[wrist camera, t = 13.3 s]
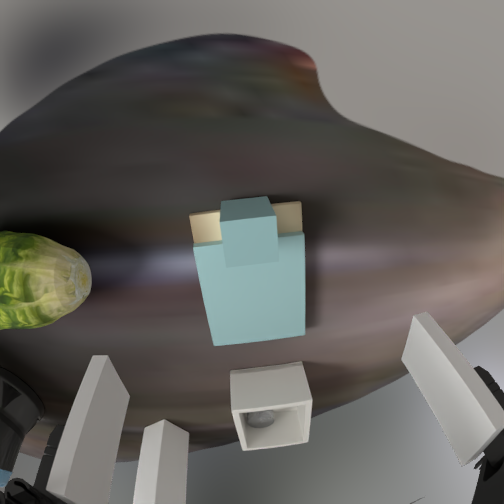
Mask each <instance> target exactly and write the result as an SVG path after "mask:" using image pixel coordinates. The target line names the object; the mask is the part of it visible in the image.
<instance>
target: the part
mask: <svg viewBox="0 0 504 504" xmlns="http://www.w3.org/2000/svg"><path fill="white" fill-rule="evenodd" d="M247 421H248V425H249V426H251V427H254V428H264V427H268V426H270V425H272V424H273V423H274V414H273V409H272V410H264V411H255V412H247Z"/></svg>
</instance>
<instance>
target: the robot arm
mask: <svg viewBox="0 0 504 504" xmlns="http://www.w3.org/2000/svg"><path fill="white" fill-rule="evenodd" d="M401 360H402V361H403V363H404V365H405V366H406V368H407V370H408V371H409V373H410V374H411V376H412V378H413V379H414V381H415V383H416V384H417V386H418V388H419V389H420V391H421V392H422V395H423V396H424V398H425V400H426V401H427V403H428V405H429V407H430V408H431V410H432V412H433V414H434V415H435V417H436V419H437V421H438V422H439V424H440V426H441V428H442V430H443V432H444V433H445V435H446V437H447V439H448V441H449V443H450V445H451V446H452V448H453V450H454V452H455V454H456V456H457V458H458V460H459V461H460V464H461V466H464V465H466V464H468V463H469V462H471V461H473V460H474V459H476V458H477V457H478V456H479V455H480V454H481V453H482V452H484V454H485V456H483V457H482V458H481V460H480V461H478V463H477V464H476V465H475V467H474V469H476V468H478V467H479V466H480V465H481V464H482V465H481V467H480V468H479V470H480V474H479V478H478V482H477V486H476V490H475V494H474V497H473V501H472V504H504V393H503V391H502V390H501V389H500V387H499V385H498V384H497V383H495V380H494V379H493V378H492V376H491V375H490V374H489V372H488V371H486V370H485V369H483V368H481V367H480V366H477V367H475V368H473V367H472V366H471V365H470V363H469V362H468V361H467V360H466V358H465V357H464V356H463V354H462V353H461V352H460V351H459V349H458V348H457V347H456V346H455V344H454V343H453V342H452V341H451V339H450V338H449V337H448V336H447V335H446V333H445V332H444V331H443V330H442V329H441V327H440V326H439V325H438V324H437V323H436V322H435V320H434V319H433V318H432V317H431V316H430V315H429V313H428V312H424V313H420V314H417V315H414V316H413V320H412V324H411V327H410V331H409V335H408V338H407V342H406V345H405V349H404V352H403V355H402V359H401ZM129 398H130V395H129V394H128V392H127V390H126V388H125V387H124V385H123V383H122V381H121V380H120V378H119V376H118V374H117V372H116V370H115V368H114V367H113V365H112V363H111V361H110V359H109V357H108V355H93V356H92V359H91V361H90V363H89V366H88V368H87V371H86V373H85V375H84V378H83V380H82V383H81V385H80V388H79V390H78V393H77V395H76V398H75V401H74V403H73V406H72V409H71V411H70V414H69V417H68V420H67V422H66V425H65V426H62V425H57V426H56V428H55V429H54V430H53V431H52V433H51V434H50V436H49V439H48V442H47V447H46V448H45V451H44V455H43V457H42V460H41V463H40V466H39V470H38V473H37V476H36V480H35V483H34V486H31V485H30V484H28V483H27V482H26V481H24V480H23V479H20V478H14V479H12V480H10V481H9V478H10V476H11V474H12V470H13V467H14V465H15V462H16V459H17V456H18V453H19V450H20V448H21V445H22V442H23V440H24V437H25V435H26V434H27V433H28V432H29V431H30V430H31V429H32V428H33V427H34V426H35V425H36V423H37V422H39V421H40V420H41V418H42V416H43V413H44V406H43V403H42V402H41V400H40V399H39V397H38V396H37V395H36V394H35V392H34V391H33V390H32V389H31V388H30V387H29V386H28V385H27V384H25V383H24V382H23V381H22V380H21V379H19V378H18V377H16V376H15V375H14V374H12V373H10V372H9V371H7V370H5V369H3V368H0V487H4V486H6V487H5V492H4V493H3V492H1V491H0V504H108V501H109V495H110V489H111V483H112V477H113V472H114V466H115V461H116V456H117V451H118V446H119V441H120V437H121V432H122V427H123V423H124V419H125V414H126V410H127V406H128V402H129ZM8 481H9V482H8Z"/></svg>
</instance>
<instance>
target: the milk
mask: <svg viewBox="0 0 504 504" xmlns="http://www.w3.org/2000/svg"><path fill="white" fill-rule="evenodd" d="M188 444H189V432H187V431H185V430H183V429H181V428H179V427H178V426H176V425H174V424H172V423H170V422H169V421H167V420H165V419H164V420H161V421H159V422H157V423H154V424H152V425H150V426H147V427H145V429H144V434H143V440H142V446H141V452H140V458H139V464H138V471H137V477H136V485H135V492H134V499H133V504H186V481H187V479H186V478H187V461H188Z"/></svg>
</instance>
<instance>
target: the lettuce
mask: <svg viewBox="0 0 504 504" xmlns="http://www.w3.org/2000/svg"><path fill="white" fill-rule="evenodd" d="M91 284H92V276H91V270H90V267H89V265H88V263H87V262H86V261H85V259H84V258H83V257H82V256H81V255H80V254H79V253H78V252H76V251H75V250H74V249H71V248H68V247H66V246H63V245H61V244H59V243H57V242H55V241H53V240H51V239H48V238H46V237H43V236H39V235H36V234H30V233H15V232H10V231H1V232H0V330H2V329H9V328H10V329H30V328H38V327H43V326H46V325H48V324H51V323H53V322H55V321H56V320H57V319H59V318H60V317H62V316H64V315H66V314H68V313H70V312H72V311H74V310H75V309H76V308H77V307H78V306H79V305H81V304H82V303H83V302H84V301H85V299H86V298H87V297H88V295H89V293H90V290H91Z"/></svg>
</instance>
